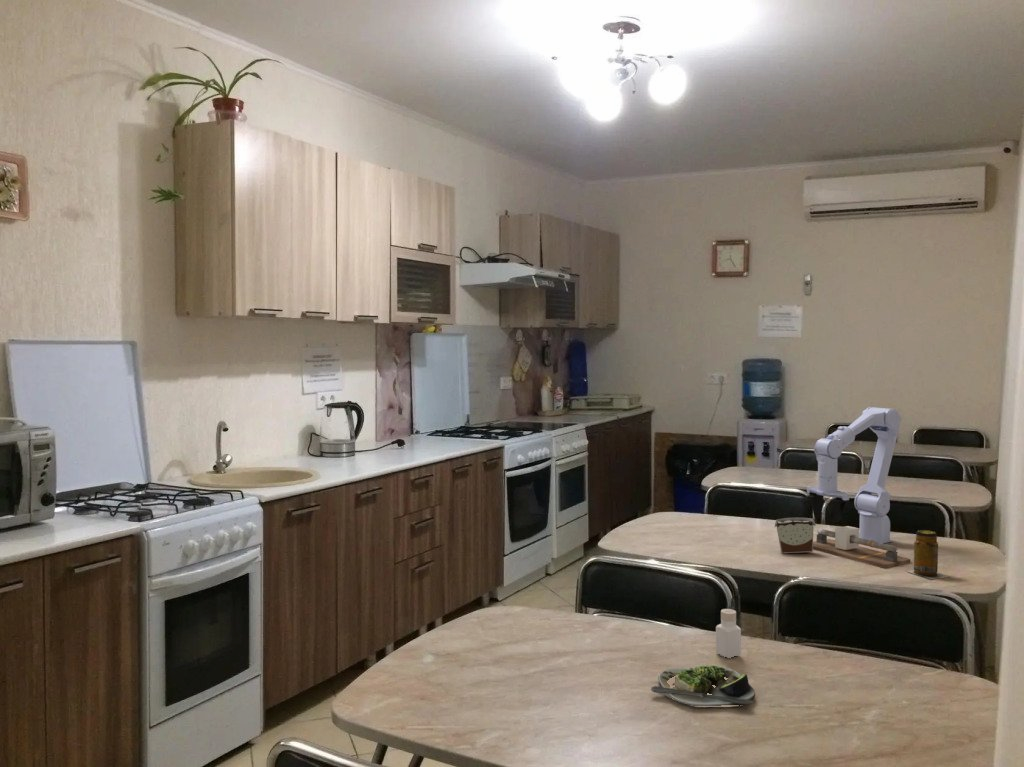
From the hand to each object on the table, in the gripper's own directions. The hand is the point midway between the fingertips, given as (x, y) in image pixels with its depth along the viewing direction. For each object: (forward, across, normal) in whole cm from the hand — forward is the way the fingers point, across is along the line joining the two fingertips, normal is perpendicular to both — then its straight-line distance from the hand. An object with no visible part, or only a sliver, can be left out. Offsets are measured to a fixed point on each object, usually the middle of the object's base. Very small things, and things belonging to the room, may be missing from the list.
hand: (827, 519), depth 260 cm
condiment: (+10, +34, 0) cm, 35 cm away
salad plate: (+9, +58, -107) cm, 122 cm away
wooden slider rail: (+10, +9, +2) cm, 13 cm away
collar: (+8, +6, +2) cm, 10 cm away
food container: (+9, -3, -12) cm, 15 cm away
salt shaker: (+9, +47, -91) cm, 103 cm away
